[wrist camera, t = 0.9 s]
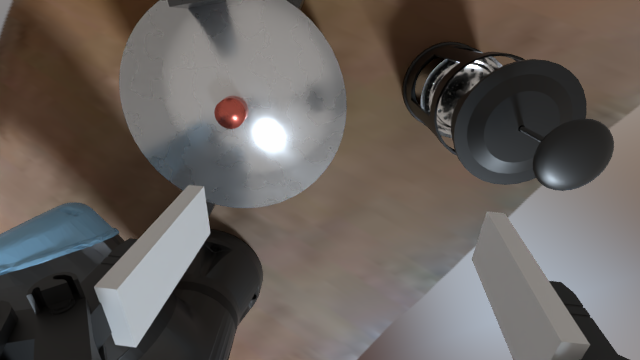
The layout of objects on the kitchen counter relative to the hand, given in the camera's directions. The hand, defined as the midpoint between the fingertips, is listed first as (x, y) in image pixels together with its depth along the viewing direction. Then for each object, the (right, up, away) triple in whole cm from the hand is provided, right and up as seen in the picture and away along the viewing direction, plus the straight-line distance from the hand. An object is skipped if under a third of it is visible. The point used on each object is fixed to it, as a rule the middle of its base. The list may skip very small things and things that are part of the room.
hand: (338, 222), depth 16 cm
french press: (+13, +12, +24) cm, 30 cm away
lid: (-9, +11, +13) cm, 19 cm away
